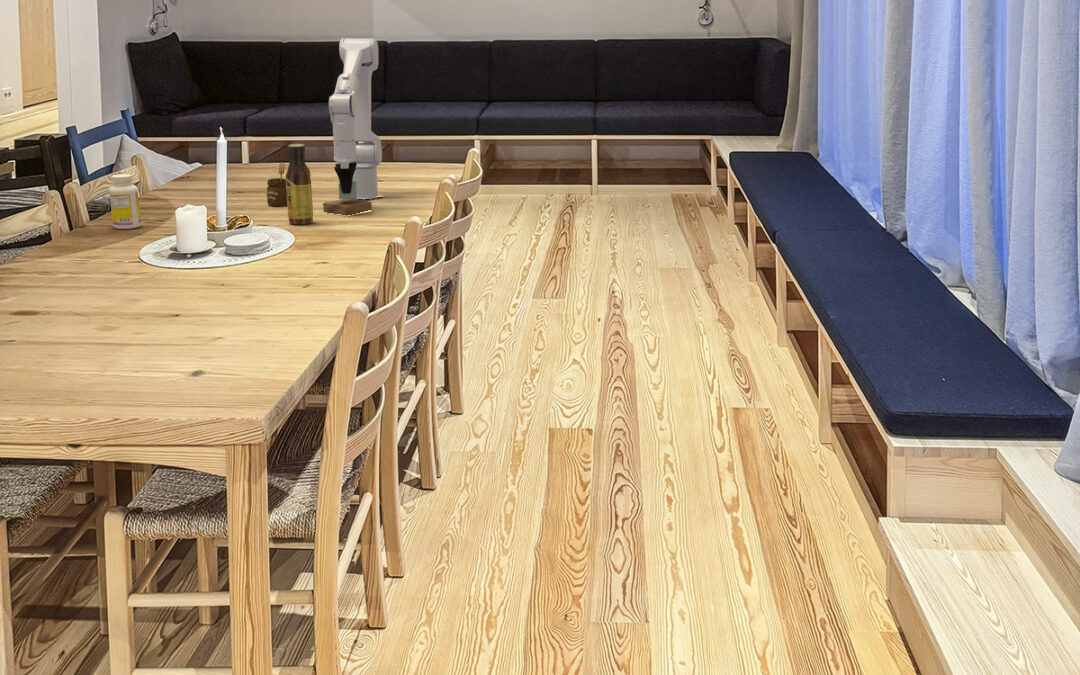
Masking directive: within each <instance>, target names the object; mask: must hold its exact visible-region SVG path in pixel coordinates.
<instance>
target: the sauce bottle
mask: <svg viewBox="0 0 1080 675" xmlns="http://www.w3.org/2000/svg"><path fill="white" fill-rule="evenodd" d="M305 147H306V146H305V144H304V143H303V144H302V143H292V144H288V146H287V150H288V154H289V163H288V168H287V170H286V174H285V179H286V193H287V217H288V222H289V223H290V224H291V225H296V226H297V225H300V226H301V225H302V226H303V225H309V224H312V223H313V221H314V208H313V207H314V206H313V191H312V190H313V189H312V181H311V170H310V168H309V167H308V166H307V164H306V159H305V152H306V148H305Z"/></svg>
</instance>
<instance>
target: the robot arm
mask: <svg viewBox="0 0 1080 675" xmlns="http://www.w3.org/2000/svg"><path fill="white" fill-rule="evenodd" d="M338 44H339V46H338V47H339V48H338V50H339V57H340V60H341V61H342V64H343V72H342V73H341V74H339V76H338V77H337V81H336V85H335V90H334V93H333V94H332V95H330V96H329V98H328V110H329V115H330V122H331V124H332V135H333V137H332V138H333V161H334V162H336V163H335V166H334V167H333V168H334V172H335V173H336V175H337V177H338V180H339V181H340V185H341V190H342V193H343V194H350V193H351V188H352V181H356V186H357V199H356V200H358V199H369V198H374V197H376V196H378V194H379V193H378V166H380V165H381V163H382V161H383V148H382V141H381V138H380V137H379V136H378V135H377V134H375V133H374V132H373V131H372V76H373V72H374V71H376V70H377V69H379V68H378V66H379V45H378V40H376V37H372V38H363V37H362V38H361V37H360V38H354V37H353V38H352V37H351V38H346V37H342V38H341V39H340V41H339V43H338ZM339 181H338V182H339Z"/></svg>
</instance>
